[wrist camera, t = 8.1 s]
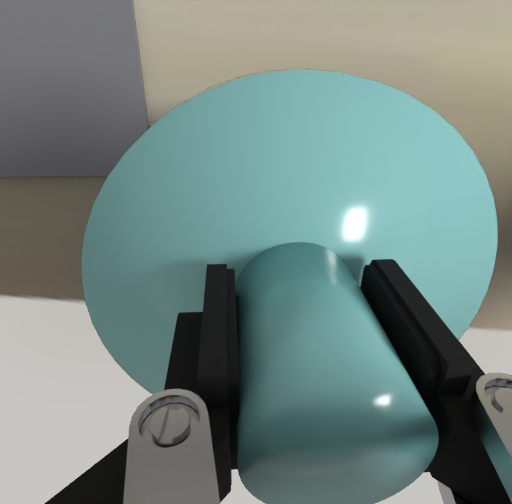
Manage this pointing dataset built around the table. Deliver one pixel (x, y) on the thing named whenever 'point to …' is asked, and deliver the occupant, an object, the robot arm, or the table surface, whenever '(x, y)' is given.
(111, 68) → the mat
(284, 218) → the lid
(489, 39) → the table surface
